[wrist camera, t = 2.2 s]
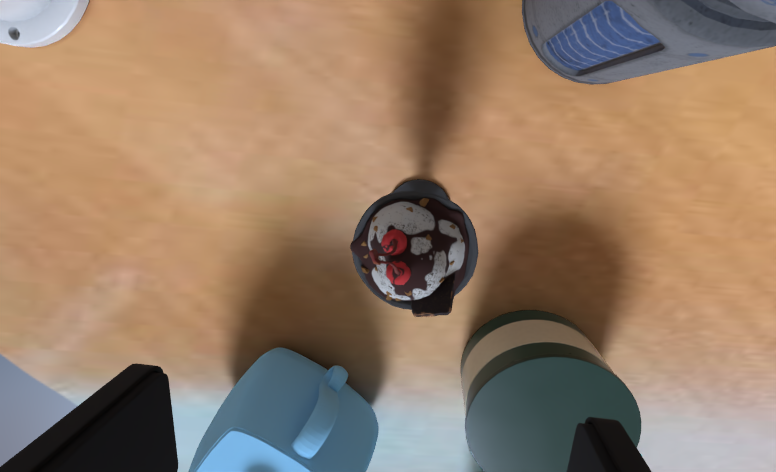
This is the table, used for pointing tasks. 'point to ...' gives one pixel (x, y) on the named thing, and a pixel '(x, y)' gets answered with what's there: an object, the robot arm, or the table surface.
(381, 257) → the sundae
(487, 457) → the tin
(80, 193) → the table surface
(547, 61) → the beverage bottle
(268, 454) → the teapot
